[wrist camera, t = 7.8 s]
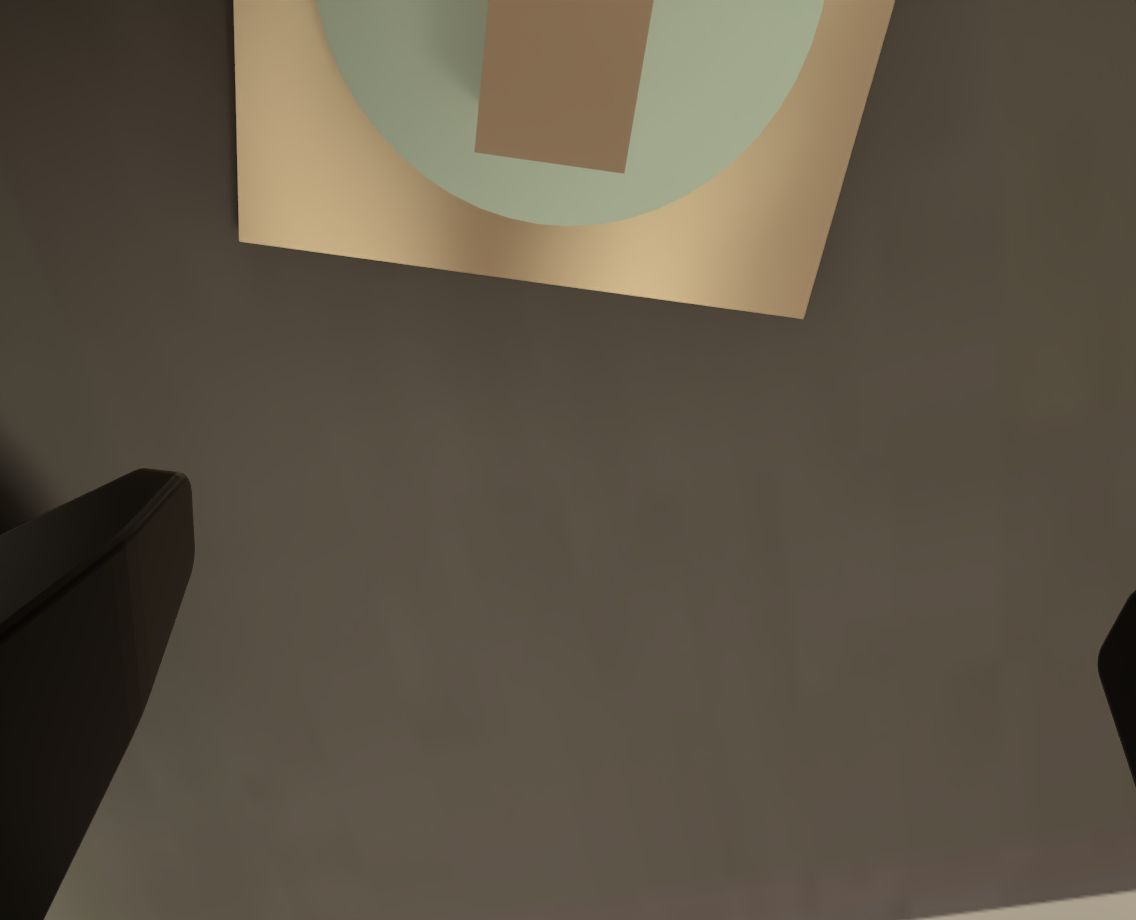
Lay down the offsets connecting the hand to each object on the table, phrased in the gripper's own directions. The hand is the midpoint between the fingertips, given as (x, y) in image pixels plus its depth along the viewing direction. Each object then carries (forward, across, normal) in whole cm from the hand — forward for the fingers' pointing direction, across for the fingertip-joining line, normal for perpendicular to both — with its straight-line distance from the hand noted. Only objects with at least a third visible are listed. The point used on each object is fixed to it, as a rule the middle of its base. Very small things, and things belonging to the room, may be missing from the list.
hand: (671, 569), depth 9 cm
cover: (+12, +1, -4) cm, 13 cm away
